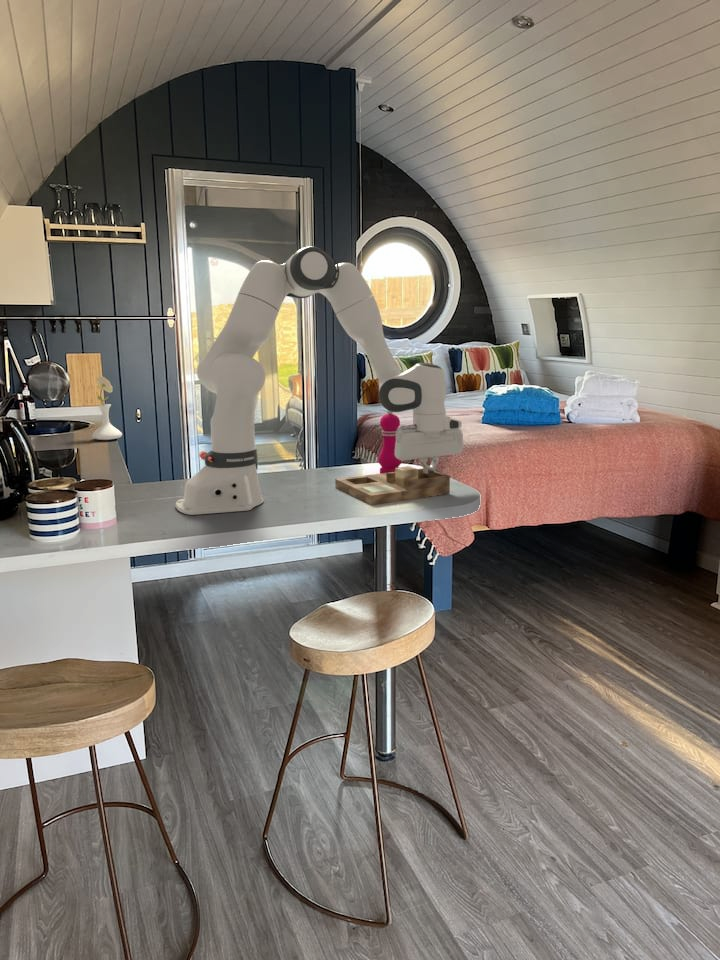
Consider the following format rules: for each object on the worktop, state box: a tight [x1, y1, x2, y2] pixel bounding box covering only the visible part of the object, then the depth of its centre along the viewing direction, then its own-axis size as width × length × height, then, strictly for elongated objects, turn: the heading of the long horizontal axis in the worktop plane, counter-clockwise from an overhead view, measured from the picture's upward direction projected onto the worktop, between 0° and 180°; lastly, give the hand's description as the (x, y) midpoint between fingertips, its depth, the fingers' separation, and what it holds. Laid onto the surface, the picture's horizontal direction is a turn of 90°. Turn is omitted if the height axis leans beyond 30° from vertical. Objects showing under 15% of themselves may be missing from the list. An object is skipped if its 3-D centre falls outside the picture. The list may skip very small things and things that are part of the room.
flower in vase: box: [91, 375, 123, 441], centre depth 294 cm, size 13×11×25 cm
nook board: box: [334, 468, 451, 506], centre depth 206 cm, size 24×22×5 cm
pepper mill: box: [377, 409, 403, 474], centre depth 226 cm, size 7×7×20 cm
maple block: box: [395, 465, 419, 487], centre depth 202 cm, size 4×4×4 cm
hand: (429, 472), depth 206 cm, fingers closed
